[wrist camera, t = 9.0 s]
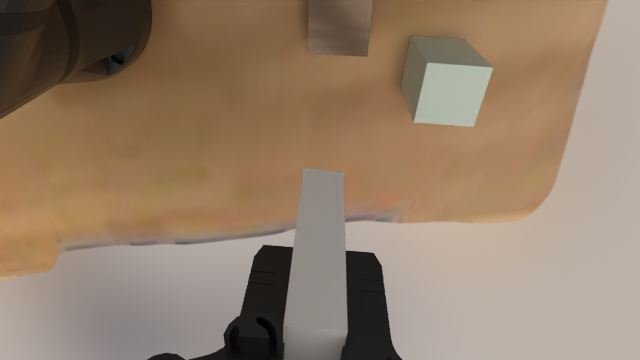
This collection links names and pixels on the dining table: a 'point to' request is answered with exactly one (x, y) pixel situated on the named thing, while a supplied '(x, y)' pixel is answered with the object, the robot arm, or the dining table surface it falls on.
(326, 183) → the robot arm
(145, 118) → the dining table surface
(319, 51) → the walnut pillar
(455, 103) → the sage pillar
